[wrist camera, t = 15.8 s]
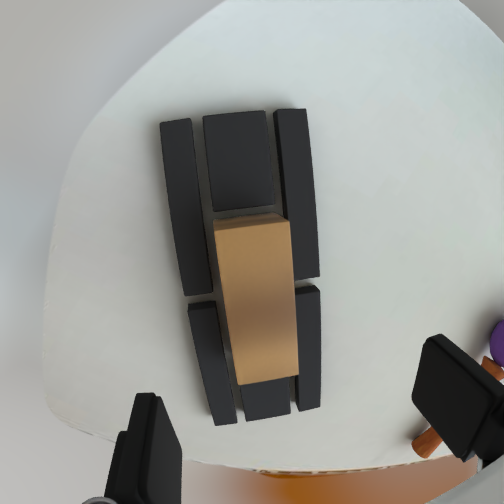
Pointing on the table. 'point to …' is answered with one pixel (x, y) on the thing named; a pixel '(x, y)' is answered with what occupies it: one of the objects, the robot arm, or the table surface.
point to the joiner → (258, 295)
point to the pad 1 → (239, 184)
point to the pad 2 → (266, 392)
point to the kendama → (500, 349)
